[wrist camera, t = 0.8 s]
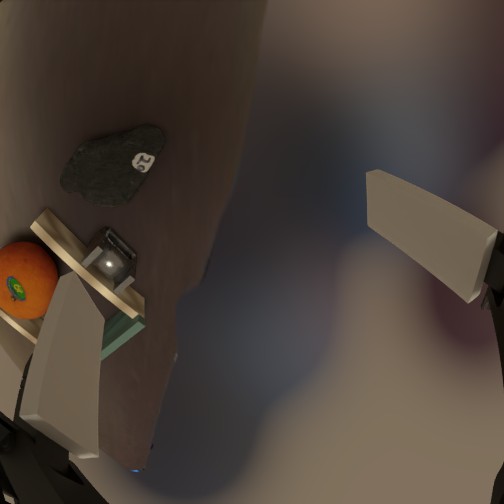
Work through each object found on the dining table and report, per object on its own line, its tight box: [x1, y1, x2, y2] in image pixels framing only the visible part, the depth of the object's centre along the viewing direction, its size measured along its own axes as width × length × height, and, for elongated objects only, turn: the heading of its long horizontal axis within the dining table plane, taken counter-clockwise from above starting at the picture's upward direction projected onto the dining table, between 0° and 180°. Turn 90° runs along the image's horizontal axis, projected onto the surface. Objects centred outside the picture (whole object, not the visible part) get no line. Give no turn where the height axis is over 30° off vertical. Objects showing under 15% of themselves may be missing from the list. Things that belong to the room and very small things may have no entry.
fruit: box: [0, 242, 59, 320], centre depth 29 cm, size 11×10×8 cm
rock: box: [60, 124, 166, 207], centre depth 28 cm, size 9×10×6 cm
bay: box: [0, 208, 145, 362], centre depth 33 cm, size 19×17×6 cm
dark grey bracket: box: [81, 226, 137, 295], centre depth 33 cm, size 6×4×6 cm, turn 34°
